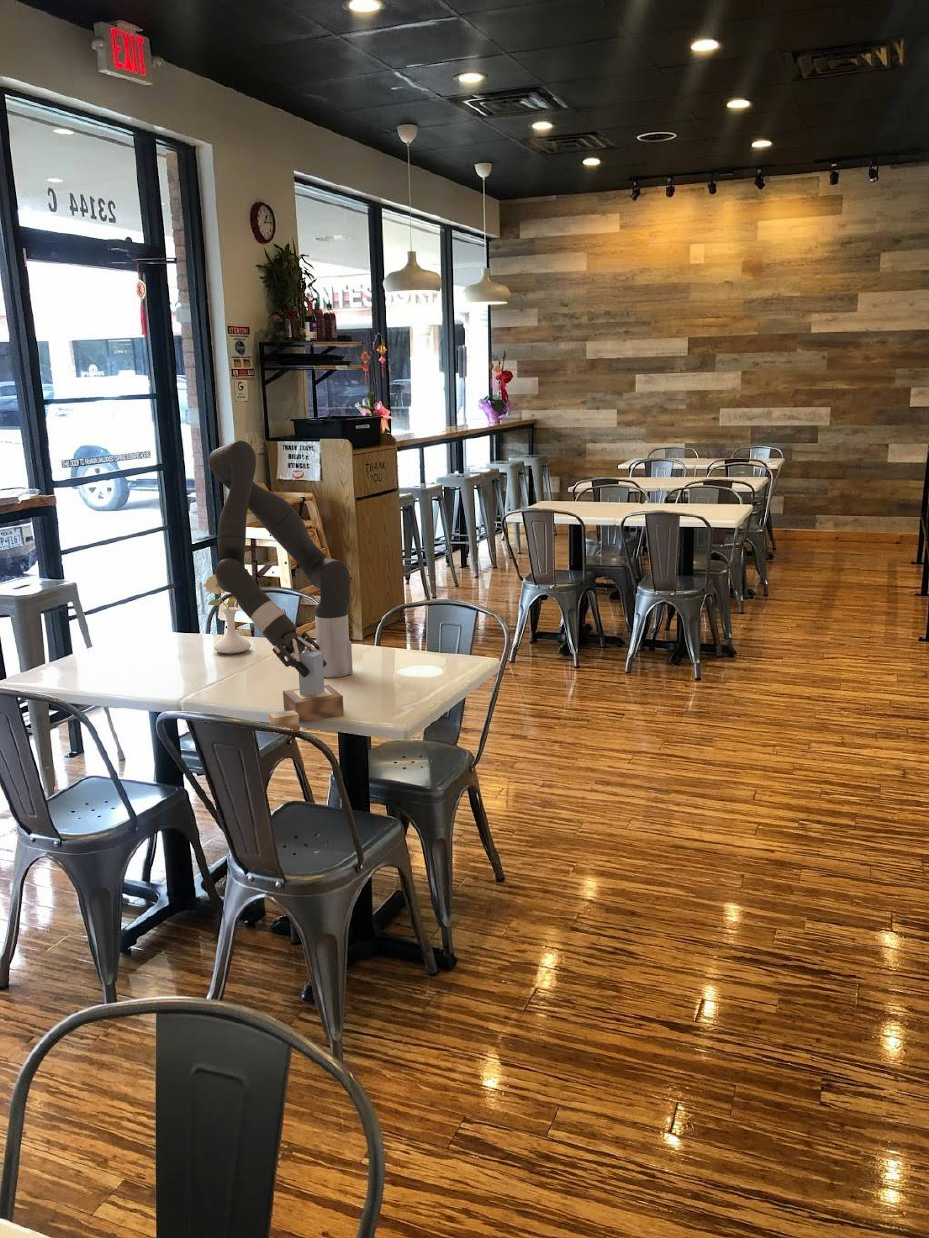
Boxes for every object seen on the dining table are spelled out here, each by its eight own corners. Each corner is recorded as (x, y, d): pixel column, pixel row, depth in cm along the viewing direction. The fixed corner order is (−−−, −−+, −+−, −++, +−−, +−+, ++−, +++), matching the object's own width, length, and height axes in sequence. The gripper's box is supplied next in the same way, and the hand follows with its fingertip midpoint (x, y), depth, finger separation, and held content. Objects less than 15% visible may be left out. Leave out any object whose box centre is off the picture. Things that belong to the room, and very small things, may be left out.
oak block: (294, 725, 254) (293, 710, 253) (299, 730, 250) (298, 714, 249) (270, 729, 251) (269, 713, 250) (275, 734, 247) (274, 718, 247)
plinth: (329, 703, 271) (328, 683, 270) (343, 715, 260) (342, 695, 259) (284, 709, 266) (282, 690, 265) (296, 722, 256) (295, 702, 255)
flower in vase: (253, 647, 335) (248, 569, 330) (248, 655, 324) (243, 575, 319) (212, 648, 335) (206, 571, 329) (205, 657, 323) (199, 577, 318)
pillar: (308, 689, 265) (306, 651, 263) (324, 691, 264) (322, 652, 261) (299, 694, 261) (297, 655, 259) (315, 695, 259) (313, 656, 257)
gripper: (266, 619, 254) (311, 668, 253) (296, 607, 267) (338, 654, 266) (249, 639, 257) (292, 687, 256) (279, 627, 270) (320, 673, 269)
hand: (316, 670), depth 261 cm, fingers open, 8 cm apart
